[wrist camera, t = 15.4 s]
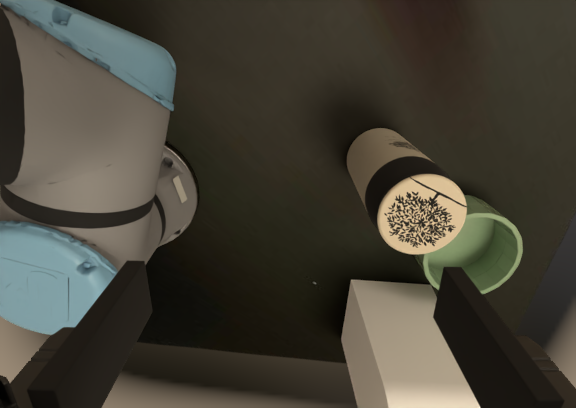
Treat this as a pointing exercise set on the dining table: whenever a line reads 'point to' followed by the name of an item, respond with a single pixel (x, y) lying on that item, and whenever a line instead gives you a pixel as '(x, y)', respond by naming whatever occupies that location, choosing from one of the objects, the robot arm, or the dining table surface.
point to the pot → (478, 249)
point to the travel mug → (405, 192)
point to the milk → (400, 349)
